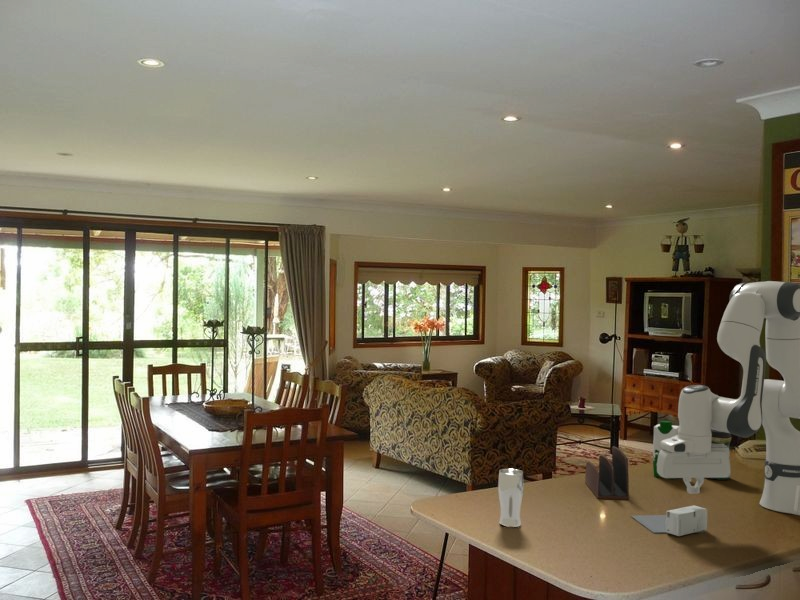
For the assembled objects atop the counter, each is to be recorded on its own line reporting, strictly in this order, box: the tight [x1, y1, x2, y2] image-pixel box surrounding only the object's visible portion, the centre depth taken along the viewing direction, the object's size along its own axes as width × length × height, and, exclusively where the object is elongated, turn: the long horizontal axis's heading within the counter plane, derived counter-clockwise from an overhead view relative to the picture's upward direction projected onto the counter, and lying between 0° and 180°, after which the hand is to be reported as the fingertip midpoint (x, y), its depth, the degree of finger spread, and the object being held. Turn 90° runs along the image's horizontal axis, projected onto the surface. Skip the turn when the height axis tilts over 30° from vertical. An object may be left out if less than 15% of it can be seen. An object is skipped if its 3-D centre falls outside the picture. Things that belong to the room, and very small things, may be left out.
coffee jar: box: [710, 429, 732, 481], centre depth 264 cm, size 10×8×19 cm
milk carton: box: [652, 419, 679, 480], centre depth 266 cm, size 9×9×20 cm
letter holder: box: [584, 445, 630, 501], centre depth 244 cm, size 10×20×14 cm, turn 177°
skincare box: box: [665, 504, 708, 537], centre depth 202 cm, size 6×4×12 cm
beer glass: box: [497, 468, 524, 527], centre depth 206 cm, size 7×7×15 cm
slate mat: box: [630, 514, 707, 534], centre depth 209 cm, size 15×15×1 cm
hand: (693, 493), depth 207 cm, fingers closed
